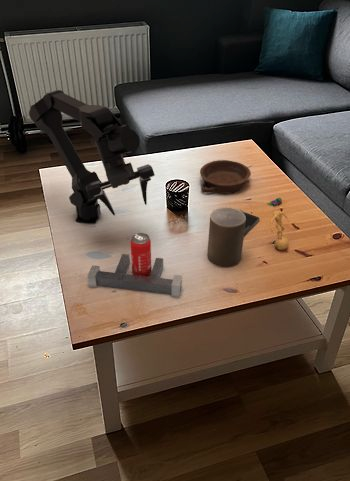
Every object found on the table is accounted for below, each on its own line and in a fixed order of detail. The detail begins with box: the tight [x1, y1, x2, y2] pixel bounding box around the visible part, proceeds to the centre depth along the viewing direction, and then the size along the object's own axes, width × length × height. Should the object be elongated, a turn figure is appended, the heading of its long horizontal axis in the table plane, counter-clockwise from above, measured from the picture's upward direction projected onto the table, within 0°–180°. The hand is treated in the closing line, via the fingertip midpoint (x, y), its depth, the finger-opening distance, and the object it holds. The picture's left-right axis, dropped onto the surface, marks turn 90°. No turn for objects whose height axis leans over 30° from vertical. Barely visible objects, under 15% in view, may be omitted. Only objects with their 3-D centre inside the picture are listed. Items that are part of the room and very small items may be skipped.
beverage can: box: [130, 232, 152, 277], centre depth 127 cm, size 5×5×12 cm
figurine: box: [270, 210, 290, 251], centre depth 137 cm, size 8×6×12 cm
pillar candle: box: [206, 206, 246, 268], centre depth 132 cm, size 10×10×15 cm
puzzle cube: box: [267, 197, 283, 208], centre depth 158 cm, size 4×3×2 cm, turn 119°
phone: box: [240, 210, 260, 237], centre depth 148 cm, size 8×1×15 cm
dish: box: [199, 159, 252, 194], centre depth 168 cm, size 18×22×5 cm
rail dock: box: [87, 253, 183, 298], centre depth 128 cm, size 24×11×4 cm, turn 80°
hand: (130, 209), depth 133 cm, fingers open, 9 cm apart
